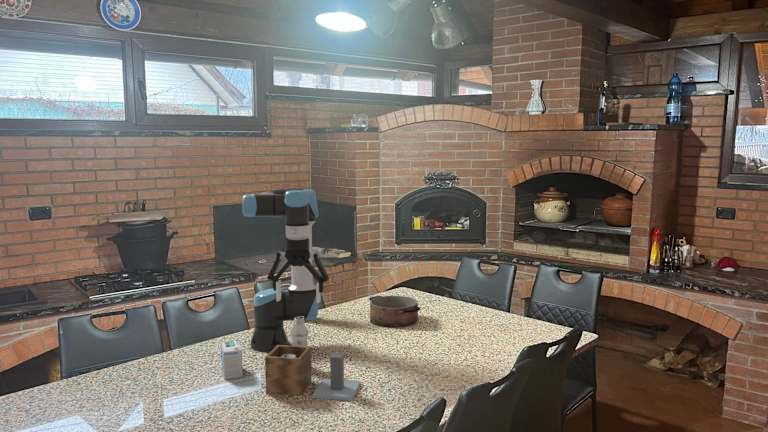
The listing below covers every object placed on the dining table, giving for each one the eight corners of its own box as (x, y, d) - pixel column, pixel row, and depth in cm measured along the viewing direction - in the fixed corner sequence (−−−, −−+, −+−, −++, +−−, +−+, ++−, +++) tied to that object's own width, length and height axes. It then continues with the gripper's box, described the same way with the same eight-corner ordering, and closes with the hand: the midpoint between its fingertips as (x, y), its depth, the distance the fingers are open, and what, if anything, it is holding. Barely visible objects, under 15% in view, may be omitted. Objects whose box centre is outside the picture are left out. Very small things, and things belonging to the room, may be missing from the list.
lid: (312, 400, 182) (312, 361, 181) (323, 384, 195) (323, 347, 193) (352, 403, 180) (352, 363, 179) (360, 386, 193) (360, 349, 191)
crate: (266, 396, 186) (265, 357, 185) (278, 382, 198) (277, 344, 196) (301, 399, 184) (300, 359, 183) (311, 384, 196) (310, 346, 195)
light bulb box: (221, 370, 209) (220, 342, 207) (239, 368, 211) (238, 340, 210) (223, 381, 199) (223, 351, 198) (243, 378, 201) (242, 349, 200)
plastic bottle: (292, 374, 205) (291, 320, 203) (290, 367, 211) (289, 315, 209) (310, 372, 207) (309, 319, 204) (307, 365, 213) (306, 314, 211)
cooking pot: (355, 321, 270) (355, 299, 269) (390, 312, 284) (390, 291, 283) (397, 336, 247) (397, 312, 246) (433, 326, 262) (433, 303, 260)
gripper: (256, 238, 182) (258, 302, 185) (332, 240, 179) (332, 305, 182) (264, 235, 190) (266, 296, 193) (337, 236, 187) (337, 299, 189)
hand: (298, 301), depth 187 cm, fingers open, 13 cm apart
